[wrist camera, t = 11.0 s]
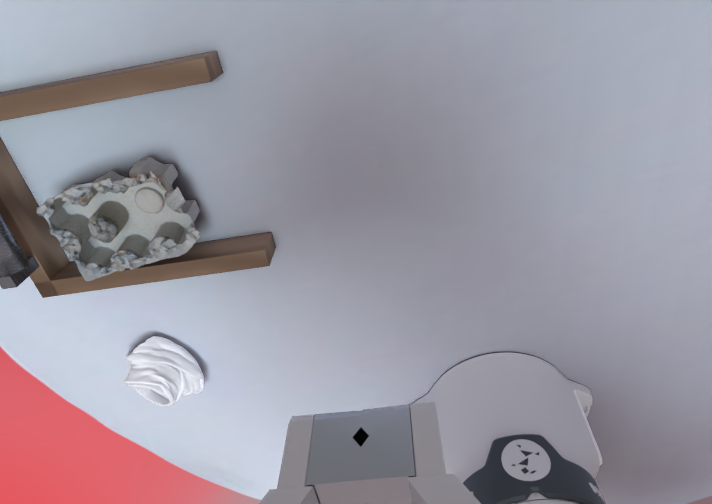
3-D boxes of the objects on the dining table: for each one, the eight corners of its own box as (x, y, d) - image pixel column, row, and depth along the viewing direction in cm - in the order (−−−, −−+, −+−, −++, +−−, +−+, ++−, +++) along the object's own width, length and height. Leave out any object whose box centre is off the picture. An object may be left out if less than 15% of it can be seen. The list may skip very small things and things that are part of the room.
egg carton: (169, 146, 37) (152, 168, 33) (213, 228, 41) (202, 255, 37) (46, 185, 38) (17, 210, 35) (100, 260, 42) (79, 289, 39)
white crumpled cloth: (221, 360, 49) (208, 397, 45) (191, 397, 52) (175, 435, 48) (148, 321, 47) (126, 356, 42) (120, 362, 49) (97, 399, 45)
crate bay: (275, 247, 42) (269, 265, 39) (62, 277, 44) (42, 297, 41) (216, 50, 34) (203, 57, 31) (-41, 100, 36) (-73, 110, 33)
